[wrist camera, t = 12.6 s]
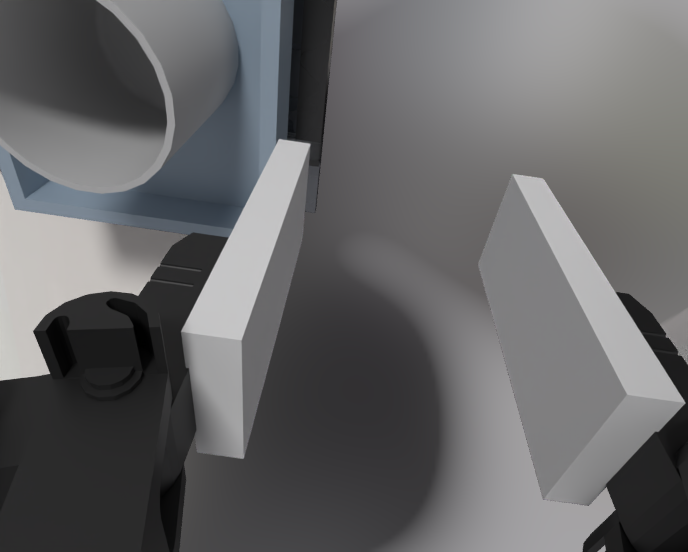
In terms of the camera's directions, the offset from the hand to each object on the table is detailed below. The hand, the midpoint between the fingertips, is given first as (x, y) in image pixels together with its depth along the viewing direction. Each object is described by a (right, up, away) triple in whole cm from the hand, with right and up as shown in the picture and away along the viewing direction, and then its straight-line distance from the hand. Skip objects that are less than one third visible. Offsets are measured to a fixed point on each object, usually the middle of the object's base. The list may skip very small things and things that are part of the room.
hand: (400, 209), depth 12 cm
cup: (-11, +10, +10) cm, 18 cm away
